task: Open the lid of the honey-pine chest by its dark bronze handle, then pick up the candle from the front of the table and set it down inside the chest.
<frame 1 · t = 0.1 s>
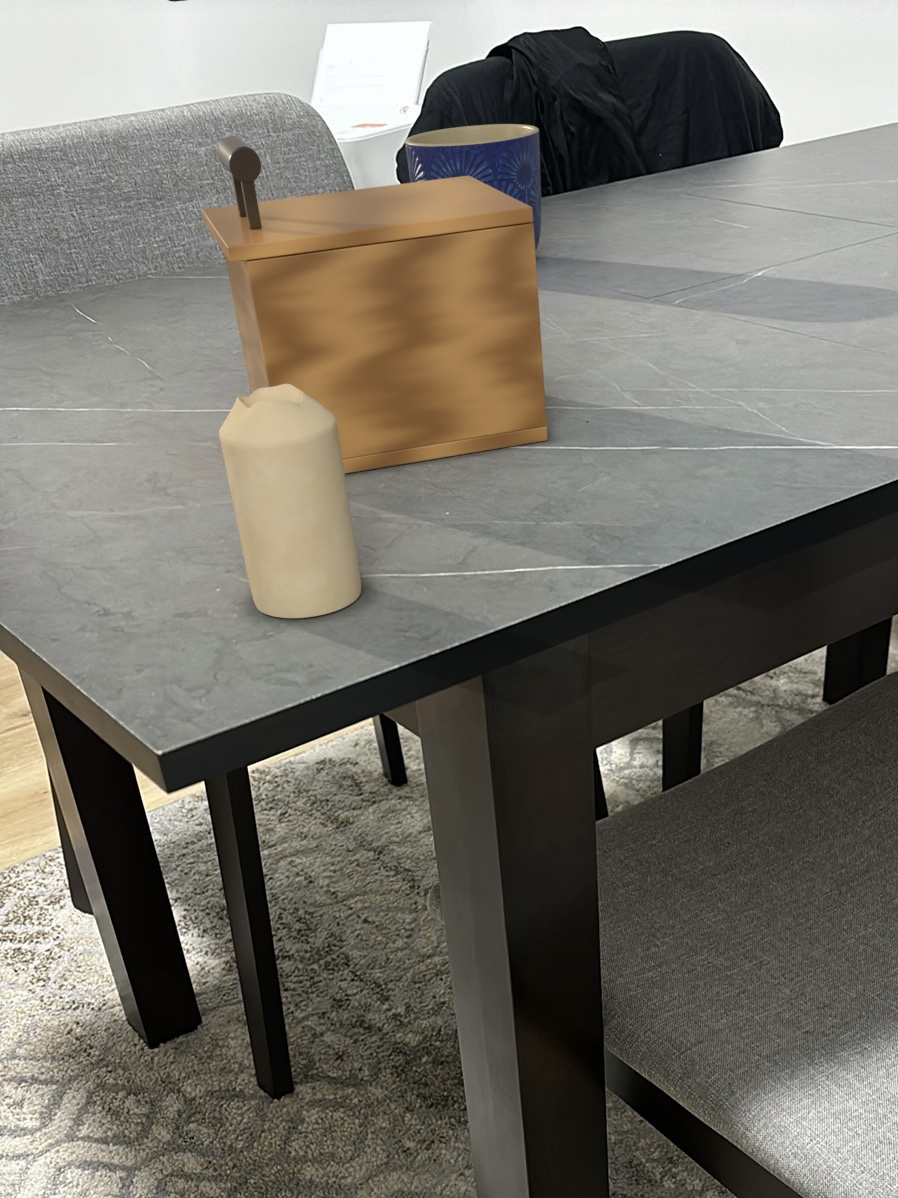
candle: (309, 601, 70), on the table
planter: (483, 266, 134), on the table
lid: (354, 176, 83), point 15 cm above the table, hinge at 0.0°
chest: (395, 430, 92), on the table
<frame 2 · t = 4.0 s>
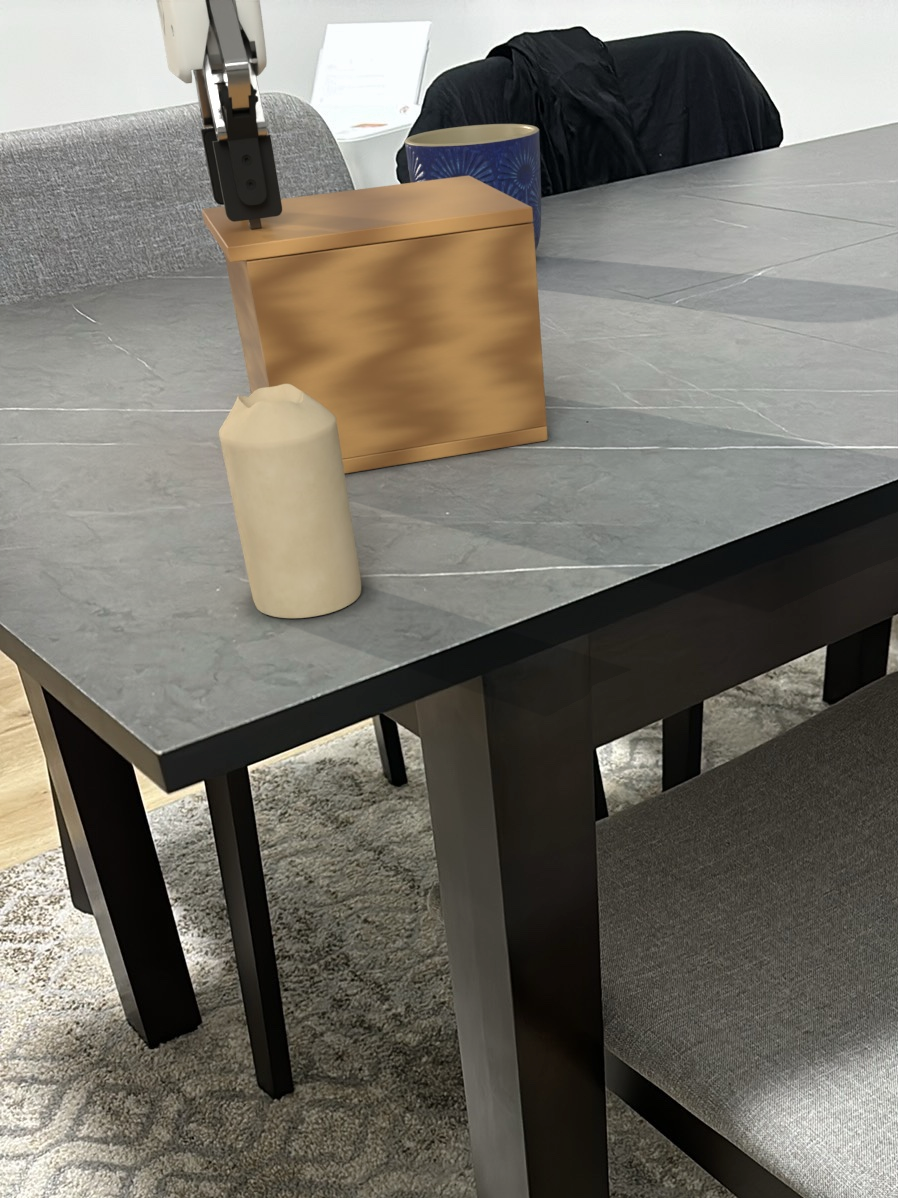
hand: (247, 206, 82), 14 cm above the table, tool pointing down, fingers closed on lid, 6 cm apart
lid: (354, 176, 83), point 15 cm above the table, hinge at 0.0°, touching gripper
everything else where it was.
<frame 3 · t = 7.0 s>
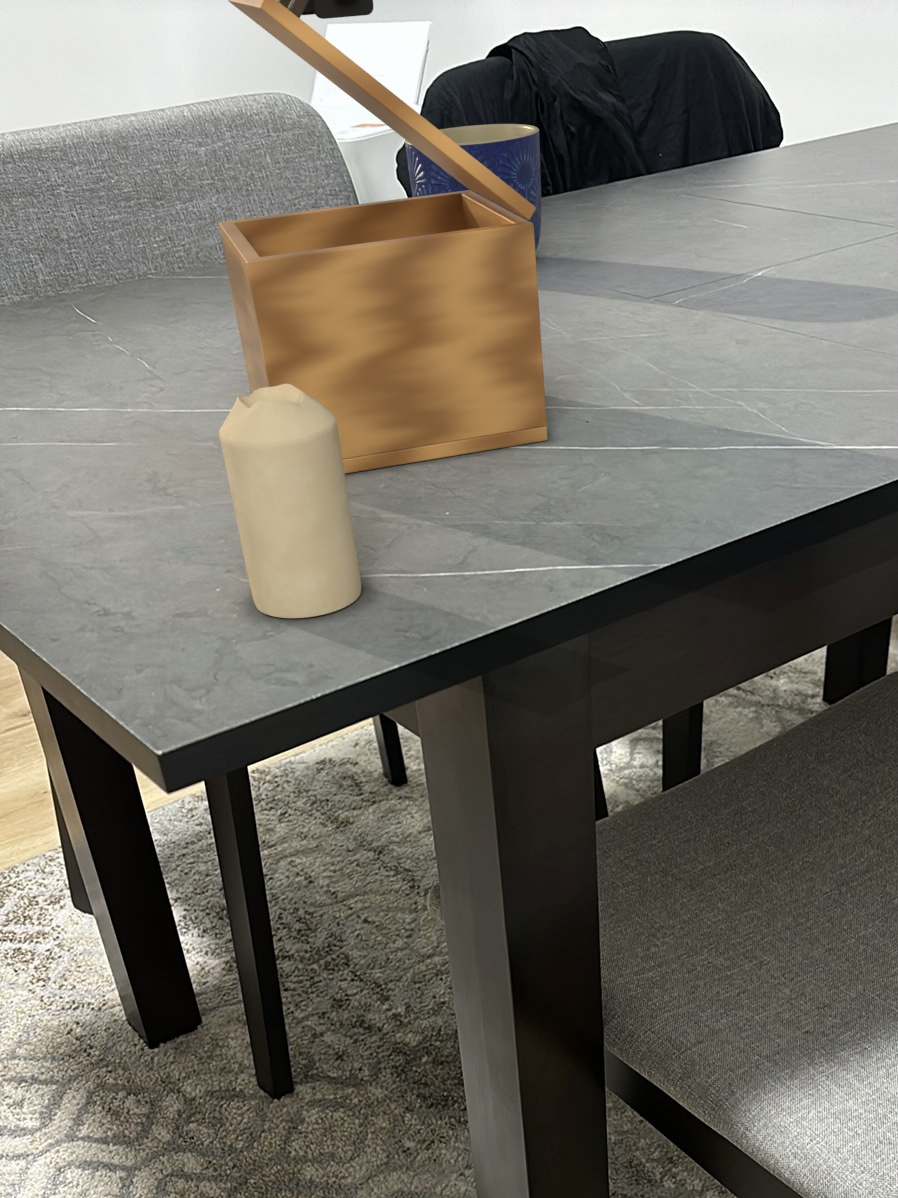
hand: (333, 11, 78), 23 cm above the table, tool pointing down, fingers closed on lid, 6 cm apart
lid: (398, 67, 81), point 20 cm above the table, hinge at 39.9°, touching gripper
everything else where it was.
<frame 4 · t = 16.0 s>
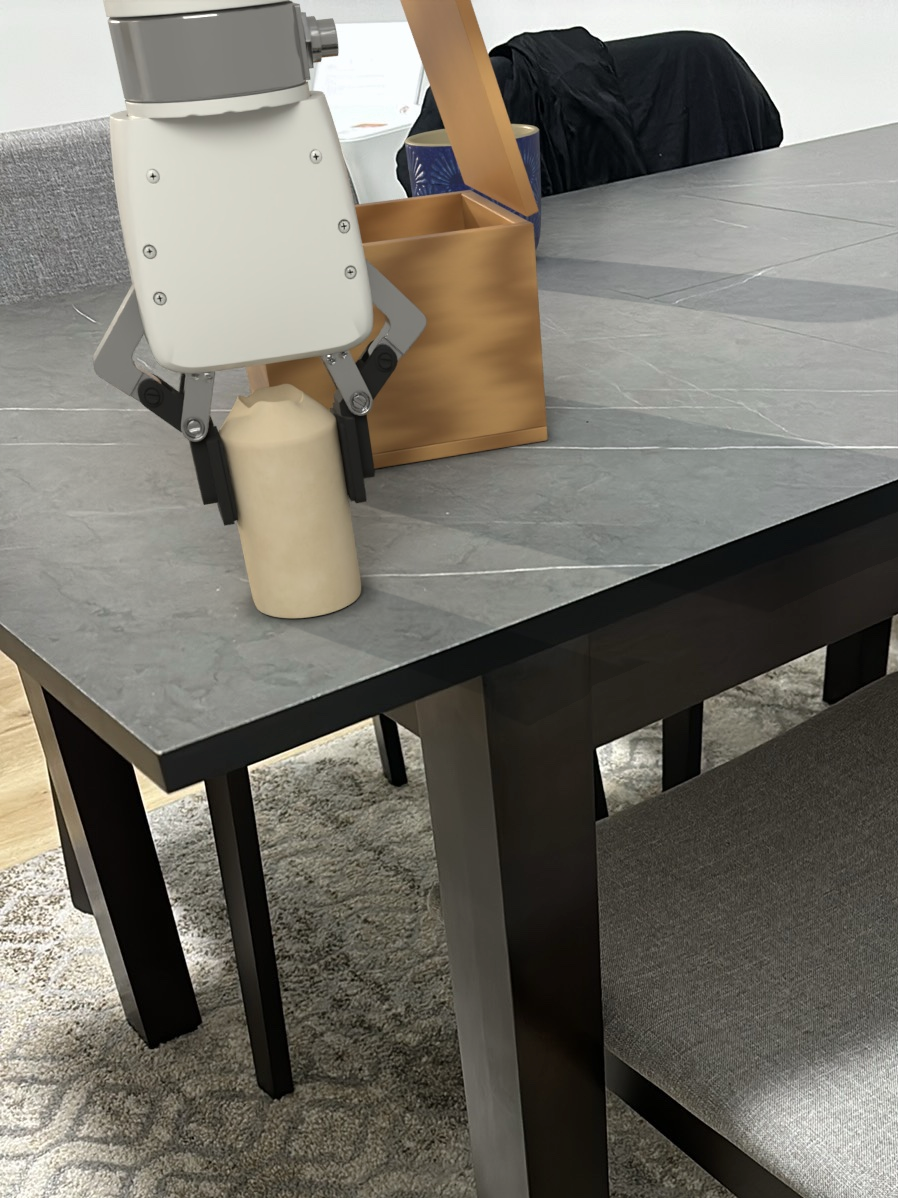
hand: (291, 501, 67), 5 cm above the table, tool pointing down, fingers closed on candle, 5 cm apart
candle: (309, 601, 70), on the table, touching gripper
lid: (478, 22, 81), point 22 cm above the table, hinge at 73.7°
everything else where it was.
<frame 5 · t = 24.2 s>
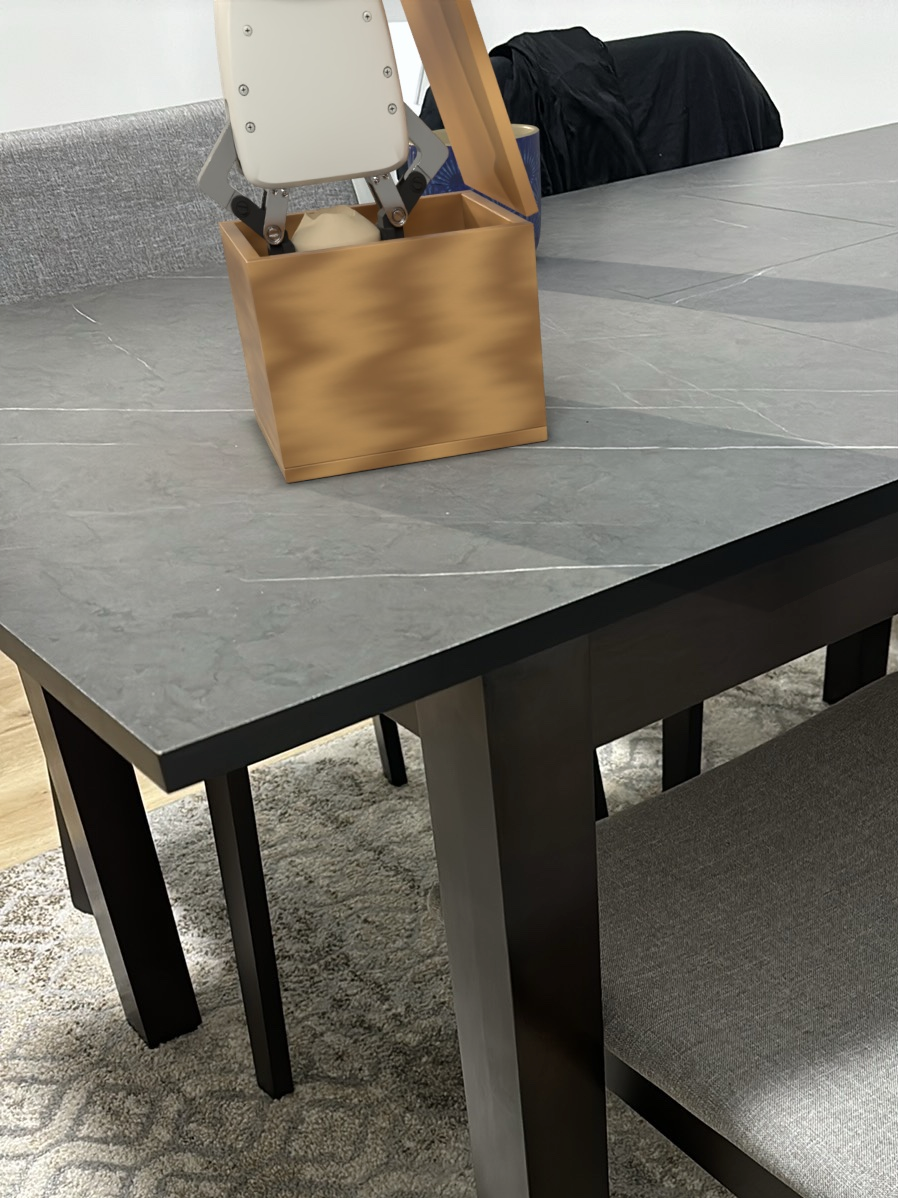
hand: (344, 299, 87), 8 cm above the table, tool pointing down, fingers closed on candle, 5 cm apart
candle: (357, 384, 90), point 3 cm above the table, touching gripper
everything else where it was.
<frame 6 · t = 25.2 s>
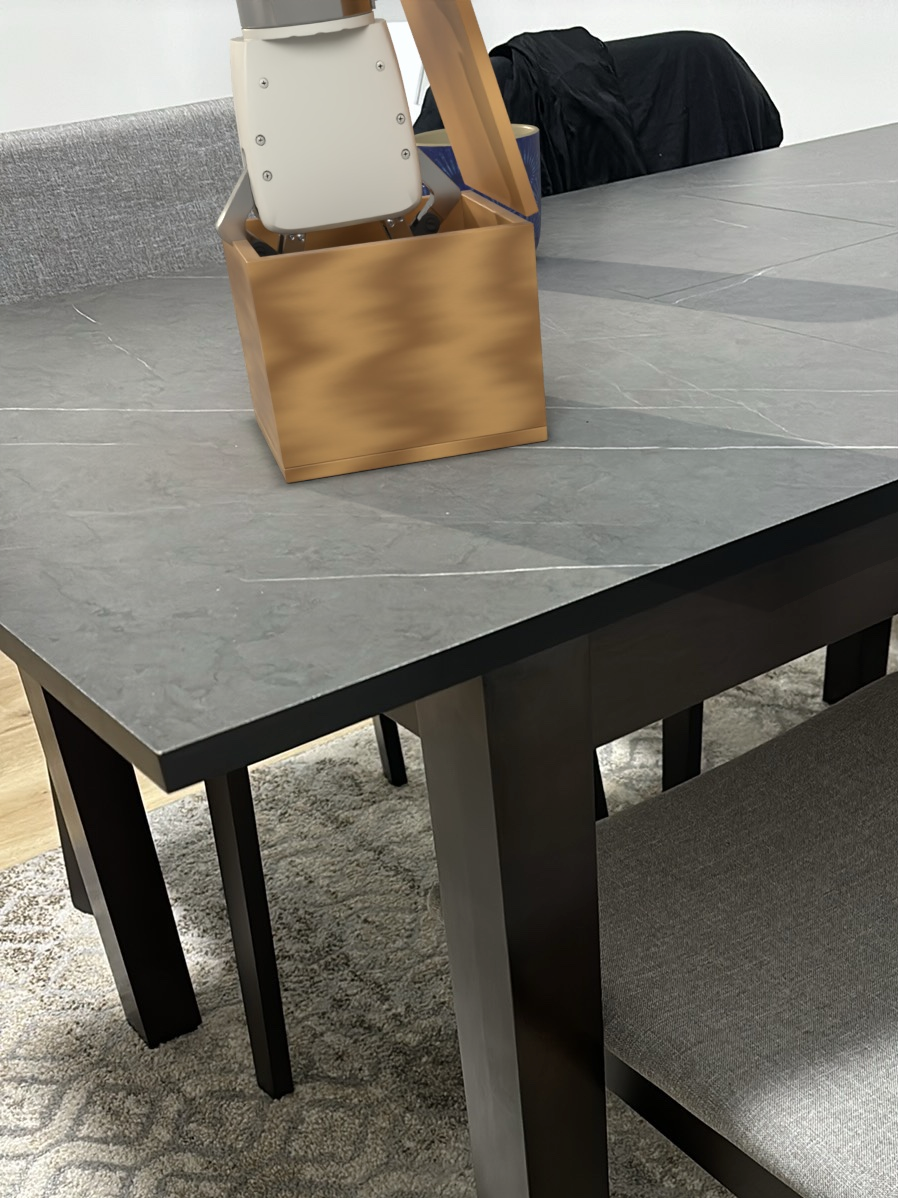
hand: (360, 338, 89), 6 cm above the table, tool pointing down, fingers closed on candle, 5 cm apart
candle: (374, 419, 92), point 1 cm above the table, touching chest, gripper
everything else where it was.
when the fingers open (6 cm above the table, at t = 25.6 s): candle stays where it is, resting on chest.
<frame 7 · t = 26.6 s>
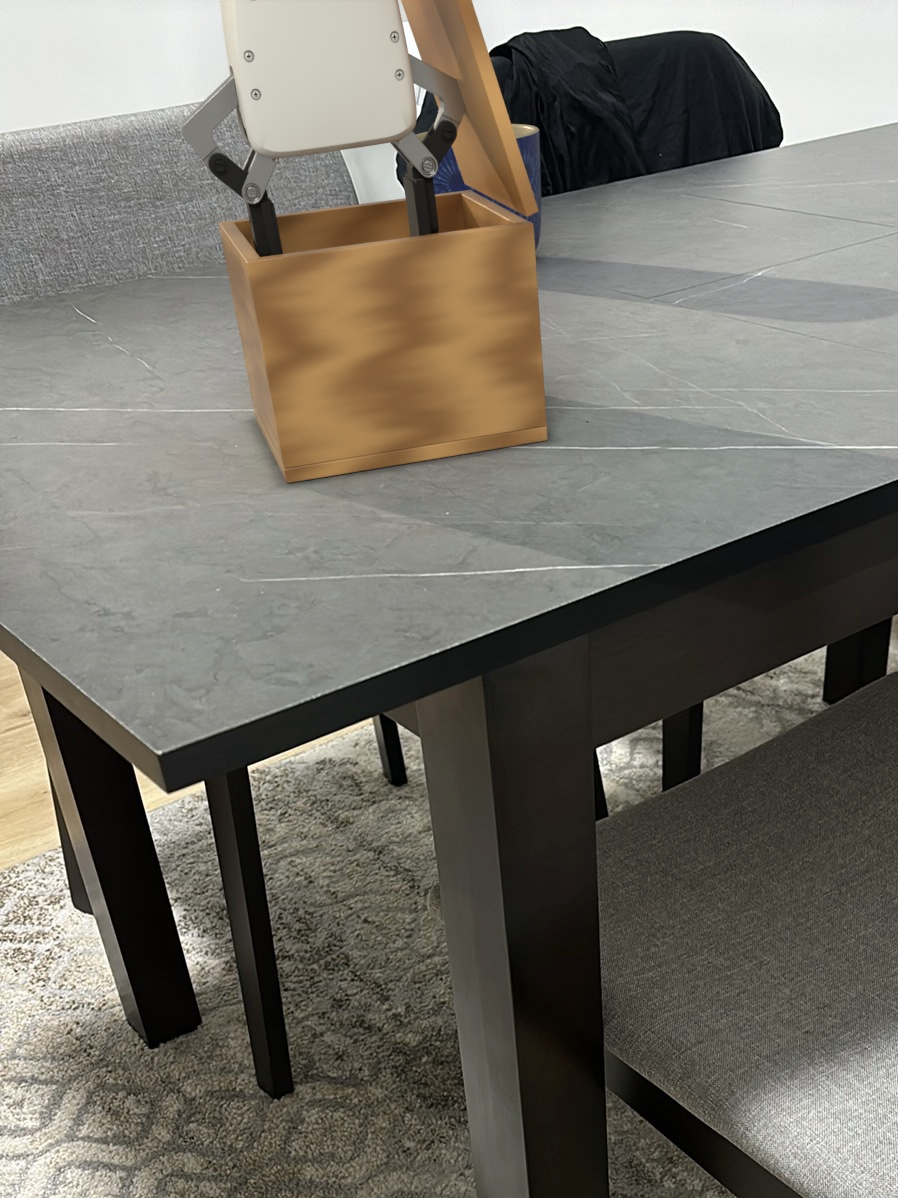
hand: (350, 259, 85), 11 cm above the table, tool pointing down, fingers open, 8 cm apart
candle: (374, 420, 92), point 1 cm above the table, touching chest
everything else where it was.
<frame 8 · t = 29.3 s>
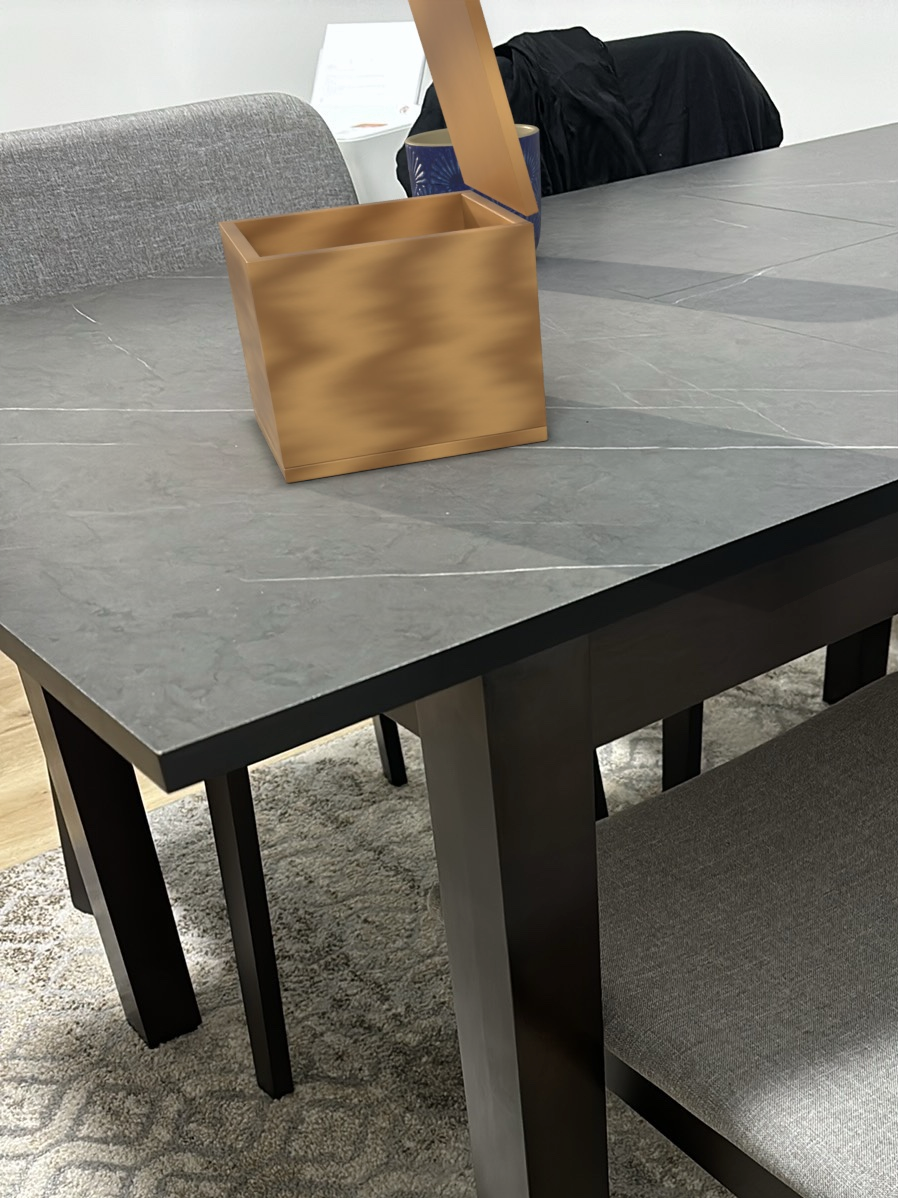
lid: (484, 21, 81), point 22 cm above the table, hinge at 76.2°
everything else where it was.
at the end: lid at +76° (first picture: +0°); candle inside the target area in the chest (1.3 cm from its centre), point 0.7 cm above the chest's base; candle tilted 0° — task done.
